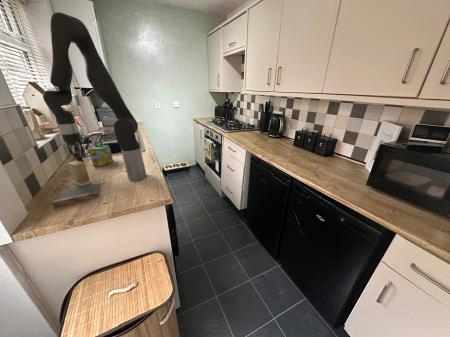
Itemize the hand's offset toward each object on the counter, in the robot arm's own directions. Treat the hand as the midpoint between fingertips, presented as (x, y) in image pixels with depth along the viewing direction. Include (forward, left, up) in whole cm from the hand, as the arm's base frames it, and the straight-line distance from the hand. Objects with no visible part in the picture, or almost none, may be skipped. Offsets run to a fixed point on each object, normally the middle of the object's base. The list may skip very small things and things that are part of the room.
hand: (81, 162), depth 100 cm
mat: (0, +21, -8) cm, 22 cm away
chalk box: (-8, -18, -9) cm, 22 cm away
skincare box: (0, +10, -9) cm, 13 cm away
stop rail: (0, +28, -8) cm, 29 cm away
